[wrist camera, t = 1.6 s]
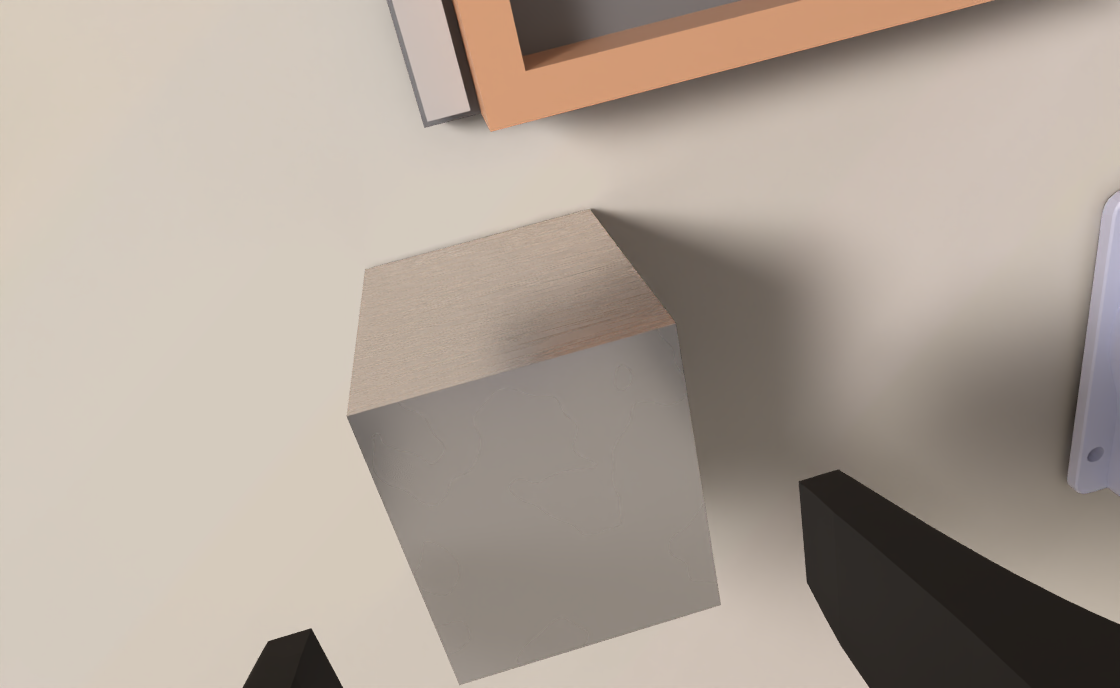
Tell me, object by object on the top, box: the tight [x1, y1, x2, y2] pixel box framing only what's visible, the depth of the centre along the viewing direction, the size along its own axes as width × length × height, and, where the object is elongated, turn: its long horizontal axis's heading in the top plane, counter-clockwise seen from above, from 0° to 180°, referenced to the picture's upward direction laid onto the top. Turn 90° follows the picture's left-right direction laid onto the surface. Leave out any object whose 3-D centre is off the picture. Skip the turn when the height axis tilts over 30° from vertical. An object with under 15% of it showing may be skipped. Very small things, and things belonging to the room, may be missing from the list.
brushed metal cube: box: [347, 209, 721, 685], centre depth 15 cm, size 6×5×6 cm
